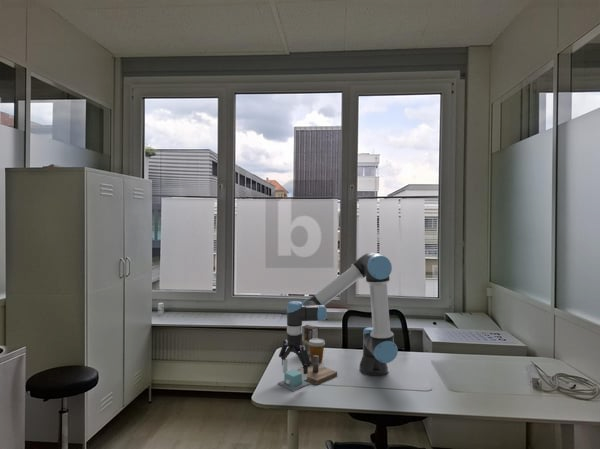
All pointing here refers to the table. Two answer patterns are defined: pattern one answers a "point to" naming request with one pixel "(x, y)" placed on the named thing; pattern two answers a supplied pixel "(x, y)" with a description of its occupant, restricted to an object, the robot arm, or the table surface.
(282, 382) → the mat
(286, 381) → the teal matte cube
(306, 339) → the coffee box
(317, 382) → the brown square board
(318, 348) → the disposable coffee cup
